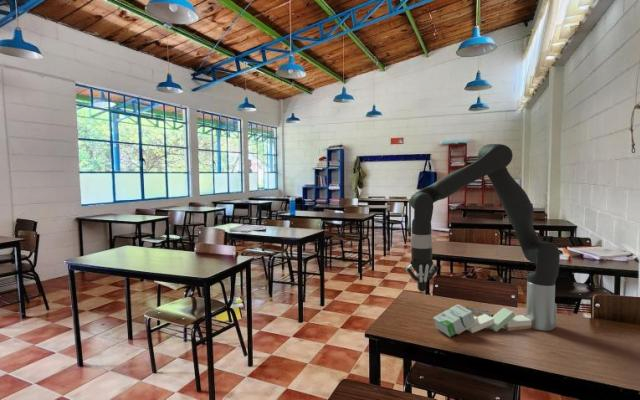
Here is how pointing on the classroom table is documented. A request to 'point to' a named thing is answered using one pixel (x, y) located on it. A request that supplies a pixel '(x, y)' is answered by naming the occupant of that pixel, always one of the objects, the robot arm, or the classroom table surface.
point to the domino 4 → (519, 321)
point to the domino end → (516, 327)
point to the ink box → (454, 320)
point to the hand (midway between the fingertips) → (421, 291)
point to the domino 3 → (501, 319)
